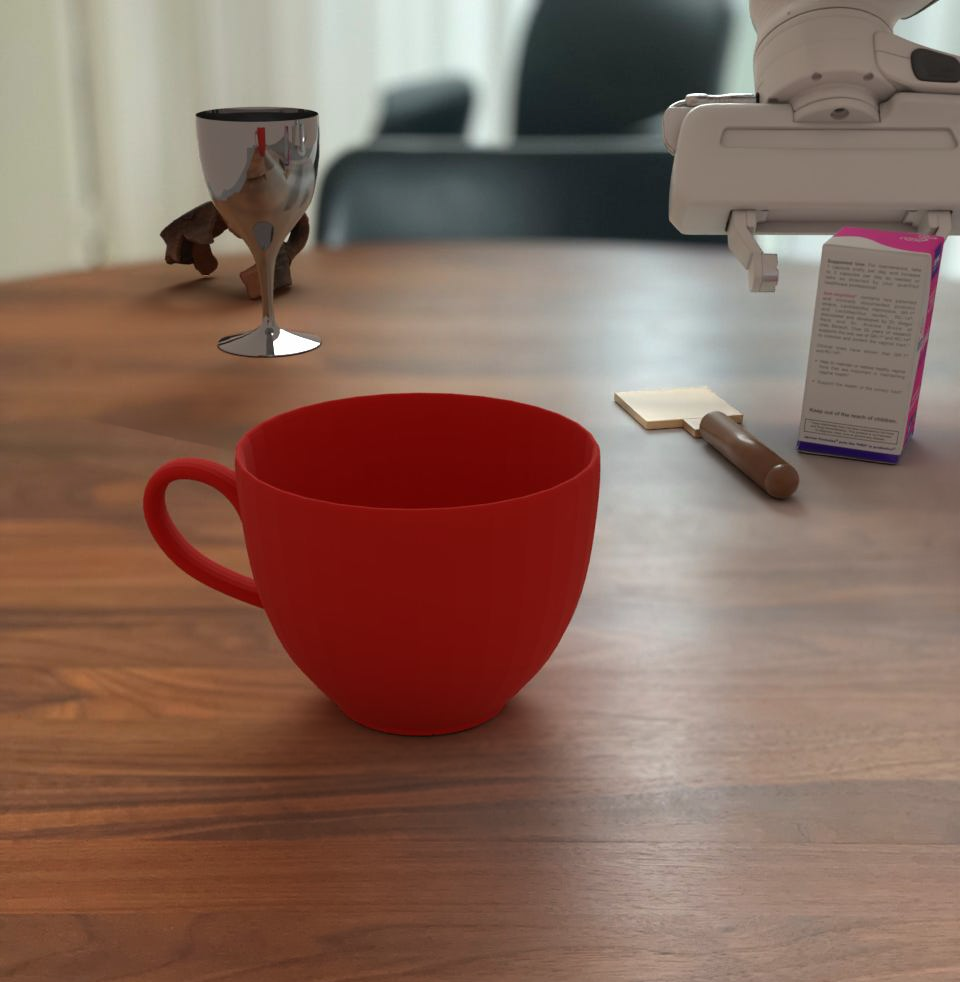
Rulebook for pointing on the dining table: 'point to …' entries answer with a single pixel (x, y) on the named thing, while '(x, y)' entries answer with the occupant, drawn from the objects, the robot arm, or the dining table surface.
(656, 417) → the spatula
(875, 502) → the dining table surface
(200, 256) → the brown irregular piece
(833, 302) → the supplement box
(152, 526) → the ceramic cup
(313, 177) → the wine glass
